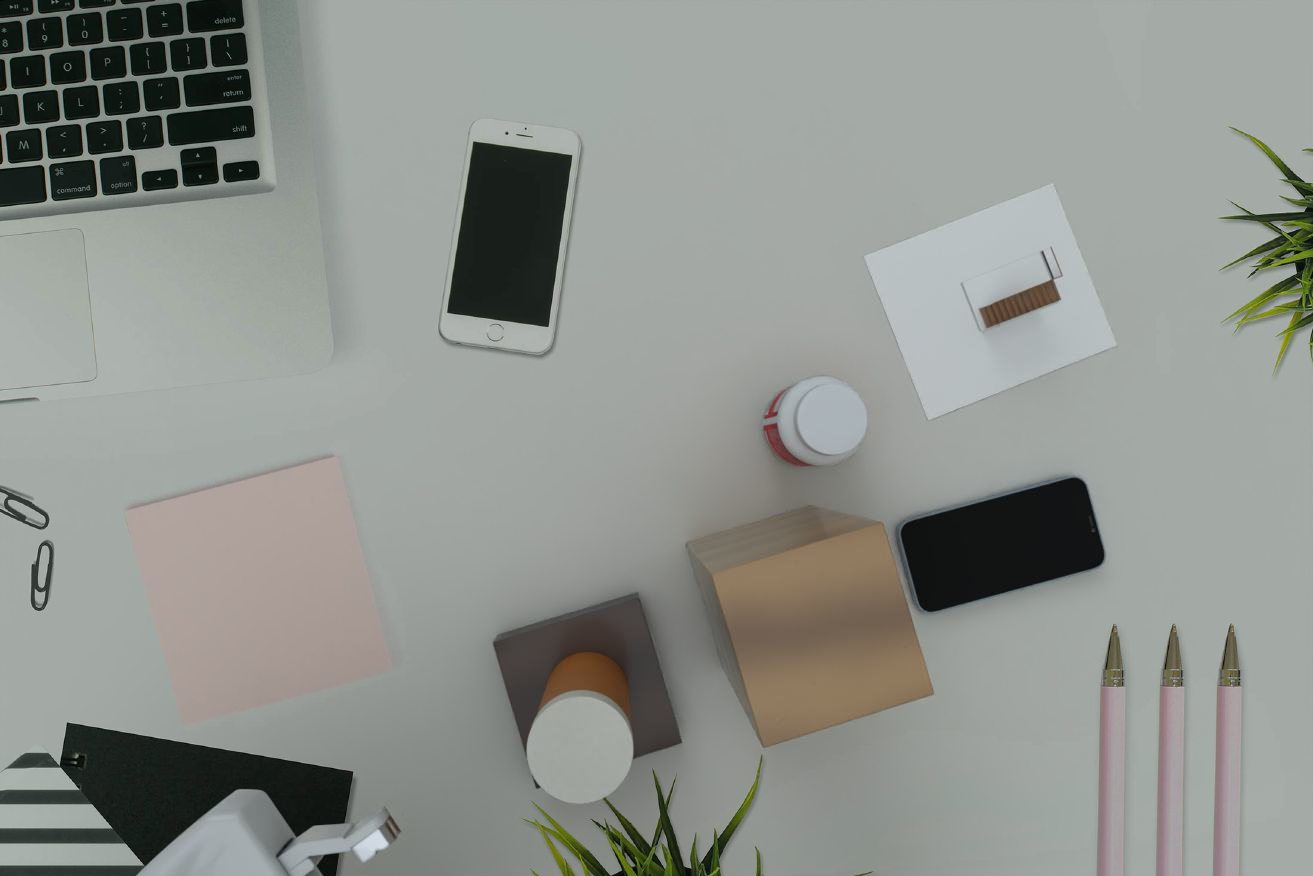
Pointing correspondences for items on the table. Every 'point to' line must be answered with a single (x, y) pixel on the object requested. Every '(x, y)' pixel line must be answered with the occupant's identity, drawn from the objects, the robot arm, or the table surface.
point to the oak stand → (809, 620)
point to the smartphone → (1001, 544)
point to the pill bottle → (815, 422)
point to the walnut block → (601, 631)
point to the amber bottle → (582, 730)
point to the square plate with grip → (990, 301)
